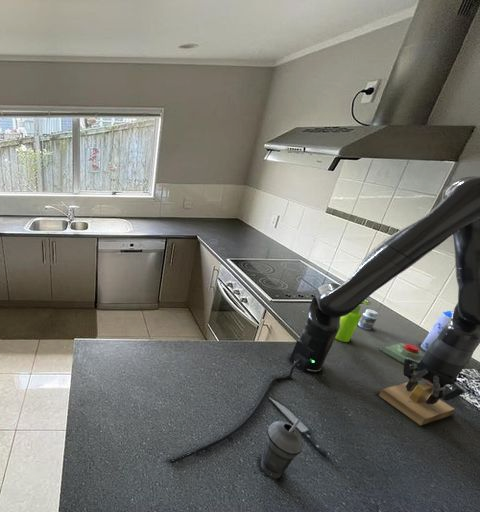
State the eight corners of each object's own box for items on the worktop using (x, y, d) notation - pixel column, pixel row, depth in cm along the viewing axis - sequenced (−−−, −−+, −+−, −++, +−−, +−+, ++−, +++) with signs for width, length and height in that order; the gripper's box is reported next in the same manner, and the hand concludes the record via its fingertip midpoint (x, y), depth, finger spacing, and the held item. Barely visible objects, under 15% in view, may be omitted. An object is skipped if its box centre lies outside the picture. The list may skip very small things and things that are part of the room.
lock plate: (420, 425, 84) (425, 418, 83) (378, 395, 94) (382, 388, 93) (450, 415, 88) (455, 408, 87) (406, 387, 98) (411, 380, 96)
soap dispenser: (345, 344, 118) (364, 304, 110) (328, 334, 124) (346, 295, 116) (355, 342, 119) (375, 302, 111) (338, 332, 125) (356, 294, 118)
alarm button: (413, 354, 108) (415, 350, 108) (402, 348, 112) (404, 344, 111) (419, 352, 109) (421, 349, 109) (408, 346, 112) (410, 343, 112)
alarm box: (412, 369, 106) (418, 361, 104) (382, 351, 115) (386, 343, 113) (431, 364, 109) (437, 356, 107) (400, 347, 118) (404, 339, 116)
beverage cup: (275, 453, 75) (299, 400, 67) (294, 484, 69) (323, 429, 61) (249, 453, 75) (270, 400, 67) (265, 484, 68) (290, 430, 60)
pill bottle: (359, 327, 129) (367, 312, 126) (356, 322, 133) (363, 307, 130) (372, 331, 127) (380, 315, 124) (369, 325, 131) (376, 310, 128)
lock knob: (416, 402, 88) (425, 389, 86) (409, 397, 90) (417, 384, 88) (426, 399, 90) (435, 386, 87) (419, 394, 91) (428, 381, 89)
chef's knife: (275, 396, 92) (268, 397, 92) (276, 394, 92) (269, 395, 91) (332, 455, 75) (323, 457, 74) (334, 453, 75) (325, 455, 74)
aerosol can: (452, 355, 114) (480, 314, 106) (442, 359, 111) (471, 318, 104) (425, 342, 121) (450, 303, 113) (416, 346, 118) (441, 306, 110)
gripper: (408, 341, 88) (384, 381, 95) (474, 375, 76) (441, 419, 82) (424, 337, 90) (399, 377, 97) (491, 371, 77) (457, 413, 84)
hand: (419, 396), depth 90 cm, fingers open, 4 cm apart
